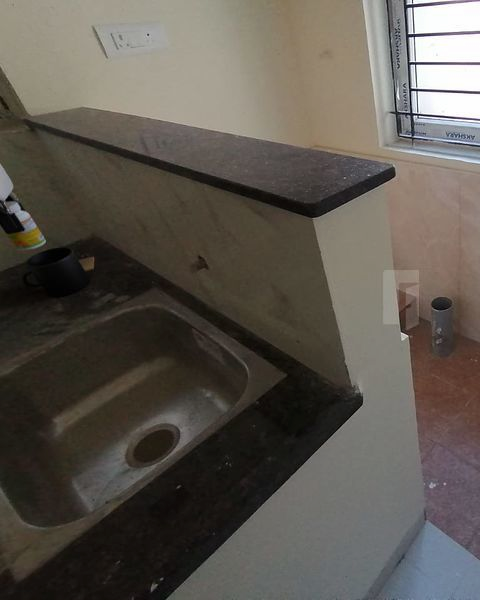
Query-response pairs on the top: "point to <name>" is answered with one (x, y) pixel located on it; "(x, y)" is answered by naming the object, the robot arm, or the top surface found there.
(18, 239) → the supplement bottle
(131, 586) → the top surface
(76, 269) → the mug
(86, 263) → the cork trivet
